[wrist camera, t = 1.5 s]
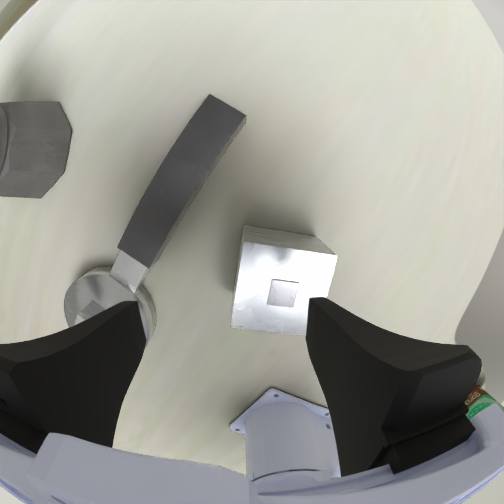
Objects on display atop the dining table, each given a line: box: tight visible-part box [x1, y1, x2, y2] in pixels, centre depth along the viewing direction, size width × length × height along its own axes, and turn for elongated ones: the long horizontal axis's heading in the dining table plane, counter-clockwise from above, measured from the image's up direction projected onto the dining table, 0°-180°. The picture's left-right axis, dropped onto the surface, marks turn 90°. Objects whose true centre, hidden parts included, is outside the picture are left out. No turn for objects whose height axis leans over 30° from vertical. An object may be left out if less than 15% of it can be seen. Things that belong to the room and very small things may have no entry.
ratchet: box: [64, 94, 246, 347], centre depth 17 cm, size 8×22×5 cm, turn 146°
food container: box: [465, 385, 504, 420], centre depth 23 cm, size 12×6×10 cm, turn 128°
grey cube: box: [231, 225, 338, 335], centre depth 18 cm, size 5×5×5 cm
